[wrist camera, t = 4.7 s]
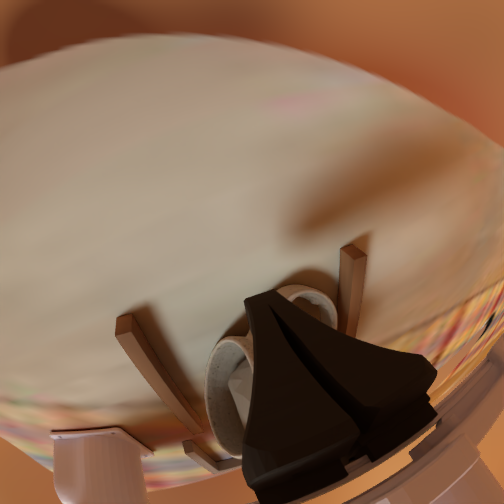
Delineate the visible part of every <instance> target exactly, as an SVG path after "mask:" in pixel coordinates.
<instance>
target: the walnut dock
mask: <svg viewBox="0 0 504 504" xmlns="http://www.w3.org/2000/svg"><path fill="white" fill-rule="evenodd" d="M366 261H367V255H366V254H365V253H364V252H362V251H361V250H360V249H358V248H357V247H356V246H354V245H353V244H352V245H349V246H347V247H344V248H341V249H340V271H339V288H338V303H337V330H338V331H340V332H342V333H344V334H346V335H348V336H351V337H353V338H355V336H356V331H357V326H358V320H359V314H360V307H361V301H362V294H363V286H364V279H365V270H366ZM115 337H116V338H117V340H118V342H119V343H120V345H121V346H122V347H123V349H124V350H125V352H126V353H127V355H128V356H129V358H130V359H131V360H132V362H133V363H134V365H135V366H136V367H137V369H138V370H139V371H140V373H141V374H142V375H143V377H144V378H145V379H146V381H147V382H148V383H149V384H150V386H151V387H152V388H153V389H154V391H155V392H156V393H157V394H158V396H159V397H160V398H161V399H162V400H163V402H164V403H165V404H166V405H167V406H168V407H169V409H170V410H171V411H172V412H173V413H174V414H175V415H176V417H177V418H178V419H179V420H180V421H181V422H182V423H183V424H184V425H185V426H186V427H187V428H188V430H189V431H190V432H191V433H192V434H193V435H195V434H200V433H204V430H203V427H202V423H201V419H200V418H199V417H198V415H197V414H196V413H195V411H194V410H193V409H192V407H191V406H190V405H189V403H188V402H187V400H186V399H185V398H184V396H183V395H182V393H181V392H180V391H179V389H178V388H177V386H176V385H175V383H174V382H173V381H172V379H171V378H170V376H169V375H168V373H167V372H166V370H165V368H164V367H163V365H162V364H161V362H160V361H159V359H158V358H157V356H156V354H155V353H154V351H153V349H152V348H151V346H150V344H149V343H148V341H147V339H146V338H145V336H144V334H143V333H142V331H141V329H140V327H139V326H138V324H137V322H136V320H135V318H134V316H133V315H132V314H128V315H125V316H121V317H118V318H117V319H116V329H115Z"/></svg>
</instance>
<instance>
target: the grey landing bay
mask: <svg viewBox="0 0 504 504" xmlns="http://www.w3.org/2000/svg"><path fill="white" fill-rule="evenodd" d="M182 443H183V447H184V451H185V454H186V455H188V456H189V457H190V458H192V459H193V460H194V461H196V462H197V463H198V464H200V465H201V466H203V467H204V468H205V469H207V470H208V471H210V472H211V473H213V474H217V473H221V472H225V471H229V470H233V469H236V468H240V467H242V459H237V458H231V459H227V460H224V461H220V462H215V461H214V460H212V459H211V458H210V457H209V456H208V455H207V454H206V453H204V452H203V451H202V450H201V449H200V448H199V447H198V446H197V445H196V444H195V443H193V442H192V441H191V440H189V441H185V442H182Z"/></svg>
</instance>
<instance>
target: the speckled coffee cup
mask: <svg viewBox="0 0 504 504" xmlns="http://www.w3.org/2000/svg"><path fill="white" fill-rule="evenodd" d="M276 291H277V292H279V293H280V294H281V295H282V296H284V297H285V298H286V299H288V300H289V301H290V302H292V301H293V300H294V299H295V298H296V297H303V298H305V299H307V300H309V301H310V302H311V303H312V304H317V305H318V307H319V310H320V321H321V322H323V323H324V324H326V325H328V326H330V327H332V328H334V329H336V330H337V311H336V308H335V306H334V304H333V302H332V300H331V299H330V298H329V297H328V296H327V295H326V294H325V293H323V292H321V291H319V290H317V289H315V288H311V287H307V286H304V285H295V284H294V285H288V286H284V287H281V288H279V289H278V290H276ZM252 382H253V336H252V333H251V331H250V329H249V332H248V334H247V336H246V337H242V336H228V337H225V338H223V339H222V340H220V341H219V342H218V343H217V345H216V346H215V347H214V349H213V351H212V353H211V355H210V358H209V361H208V364H207V369H206V373H205V385H204V388H205V394H204V399H205V403H206V411H207V415H208V419H209V422H210V426H211V429H212V431H213V434H214V436H215V438H216V440H217V442H218V444H219V445H220V447H221V448H222V449H223V450H224V451H225V452H226V453H227V454H229V455H230V456H232V457H234V458H237V459H242V441H243V437H244V432H245V428H246V424H247V419H248V413H249V407H250V401H251V393H252Z"/></svg>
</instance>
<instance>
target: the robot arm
mask: <svg viewBox="0 0 504 504" xmlns="http://www.w3.org/2000/svg"><path fill="white" fill-rule="evenodd" d="M244 305H245V309H246V314H247V318H248V322H249V327H250V331H251V333H252V336H253V382H252V393H251V401H250V407H249V413H248V419H247V424H246V428H245V432H244V437H243V441H242V471H243V475H244V478H245V480H246V482H247V485H248V486H249V487H250V488H251V489H253V490H254V491H255V494H256V496H257V499H258V501H255V502H252V503H248V504H301V503H304V502H306V501H309V500H311V499H314V498H316V497H318V496H320V495H323V494H325V493H327V492H330V491H332V490H334V489H336V488H338V487H340V486H342V485H344V484H346V483H348V482H350V481H352V480H354V479H355V478H357V477H359V476H361V475H363V474H364V473H366V472H368V471H370V470H371V469H373V468H375V467H376V466H378V465H380V464H381V463H383V462H384V461H386V460H388V459H389V458H391V457H392V456H394V455H395V454H397V453H398V452H399V451H401V450H402V449H404V448H405V447H407V446H408V445H409V444H411V443H412V442H414V441H415V440H416V439H417V438H419V437H420V436H421V435H423V434H424V433H425V432H426V431H428V430H429V429H430V428H431V427H432V426H434V425H435V424H436V423H437V424H436V429H435V430H434V431H433V432H431V434H429V435H428V436H427V437H425V438H424V440H422V441H421V442H420V443H419V444H418V445H417V446H416V447H414V448H413V449H412V450H411V451H409V455H410V456H411V458H412V459H413V461H412V462H411V463H409V464H408V465H406V466H405V467H404V468H402V469H401V470H399V471H398V472H396V473H395V474H393V475H392V476H390V477H389V478H387V479H385V480H384V481H382V482H381V483H379V484H377V485H376V486H374V487H372V488H370V489H369V490H367V491H365V492H363V493H362V494H360V495H358V496H356V497H354V498H353V499H350V500H348V501H346V502H344V503H342V504H504V490H503V488H502V487H501V485H500V484H499V483H498V481H497V480H496V478H495V477H494V476H493V474H492V473H491V472H490V470H489V469H488V467H487V466H486V465H485V463H484V462H483V461H482V459H481V458H480V451H479V450H478V449H477V445H478V444H479V443H480V442H481V440H482V439H483V438H484V436H485V435H486V434H487V432H488V431H489V430H490V428H491V427H492V425H493V424H494V423H495V421H496V420H497V418H498V417H499V415H500V414H501V412H502V411H503V409H504V333H503V334H502V335H501V336H500V338H499V339H498V340H497V341H496V343H495V344H494V345H493V346H492V348H491V349H490V351H489V352H488V354H487V356H486V358H485V359H484V360H483V361H482V362H481V363H480V364H479V365H478V366H477V367H476V369H474V370H473V372H472V373H471V374H470V375H469V376H468V377H467V378H466V379H465V380H464V381H463V382H462V383H461V384H459V385H458V386H457V388H455V389H454V390H453V391H452V392H451V393H450V394H449V395H448V396H447V397H446V398H444V399H443V400H442V401H441V402H440V403H439V404H438V405H436V406H435V407H434V408H433V407H432V406H431V405H430V403H429V401H430V397H429V396H428V395H427V393H426V392H427V390H428V389H429V388H430V386H431V385H432V383H433V382H434V380H435V378H436V376H437V370H436V369H435V368H434V367H433V366H432V364H431V363H430V362H429V361H428V360H427V359H426V358H425V357H424V356H422V355H419V354H413V353H406V352H400V351H395V350H391V349H387V348H383V347H379V346H376V345H373V344H370V343H367V342H364V341H361V340H358V339H356V338H353V337H351V336H348V335H346V334H344V333H342V332H340V331H338V330H336V329H334V328H332V327H330V326H328V325H326V324H324V323H323V322H321V321H319V320H317V319H316V318H314V317H313V316H311V315H309V314H308V313H306V312H305V311H303V310H302V309H300V308H299V307H297V306H296V305H295V304H293V303H292V302H290V301H289V300H288V299H286V298H285V297H284V296H282V295H281V294H280V293H279V292H277V291H276V290H274V289H273V290H270V291H267V292H264V293H261V294H258V295H255V296H252V297H248V298H246V299H245V300H244ZM49 436H50V437H51V438H53V439H54V460H53V468H54V486H55V490H56V493H57V495H58V497H59V498H60V500H61V502H62V503H63V504H149V500H148V495H147V490H146V485H145V480H144V474H143V468H142V462H141V458H145V457H152V456H154V453H153V452H152V451H151V450H149V449H148V448H146V447H145V446H143V445H142V444H141V443H139V442H138V441H137V440H135V439H134V438H133V437H131V436H130V435H129V434H127V433H126V432H125V431H123V430H122V429H121V428H107V429H98V430H86V431H71V432H50V434H49Z"/></svg>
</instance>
